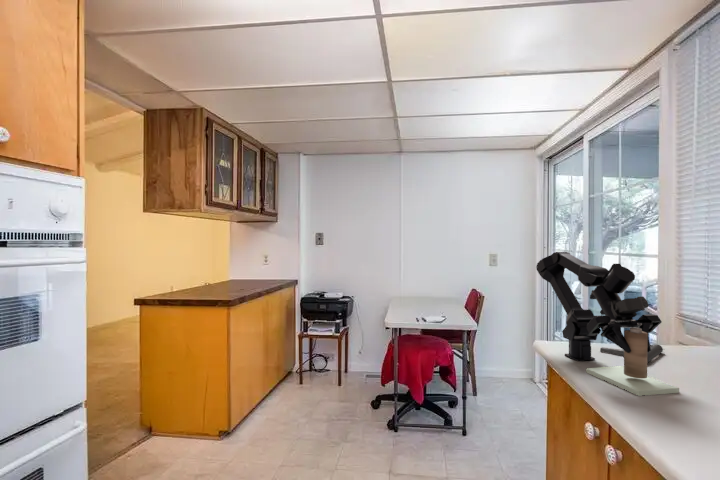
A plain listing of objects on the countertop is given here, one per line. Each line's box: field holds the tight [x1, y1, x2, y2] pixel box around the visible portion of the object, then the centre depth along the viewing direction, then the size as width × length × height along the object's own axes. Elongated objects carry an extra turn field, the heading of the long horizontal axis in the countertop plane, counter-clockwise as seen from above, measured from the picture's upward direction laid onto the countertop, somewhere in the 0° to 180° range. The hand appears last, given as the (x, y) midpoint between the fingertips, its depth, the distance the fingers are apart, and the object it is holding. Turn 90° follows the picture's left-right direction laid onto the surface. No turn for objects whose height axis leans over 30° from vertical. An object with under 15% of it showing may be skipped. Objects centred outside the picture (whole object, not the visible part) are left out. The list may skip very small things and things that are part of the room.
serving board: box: [585, 365, 680, 397], centre depth 112 cm, size 18×12×1 cm, turn 10°
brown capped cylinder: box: [623, 327, 649, 378], centre depth 110 cm, size 5×5×12 cm
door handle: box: [599, 344, 664, 364], centre depth 138 cm, size 3×20×16 cm
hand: (639, 351), depth 109 cm, fingers closed on brown capped cylinder, 5 cm apart
